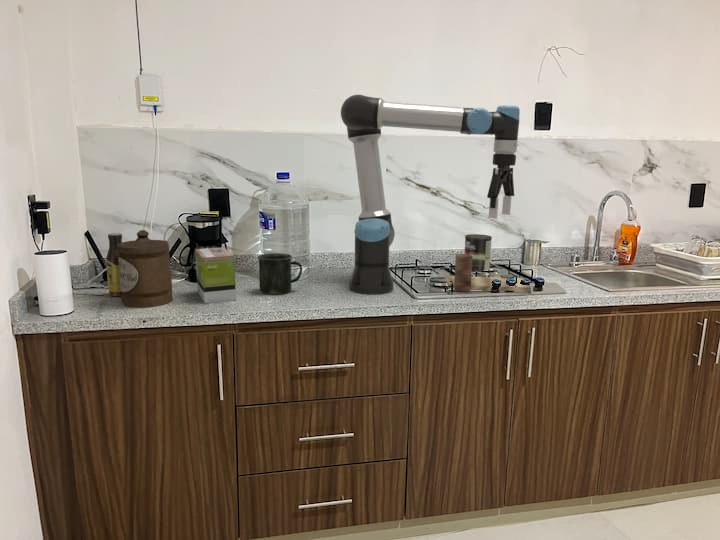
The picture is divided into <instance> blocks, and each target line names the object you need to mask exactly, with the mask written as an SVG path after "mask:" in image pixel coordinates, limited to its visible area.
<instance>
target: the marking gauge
mask: <svg viewBox="0 0 720 540" xmlns="http://www.w3.org/2000/svg"><path fill="white" fill-rule="evenodd" d="M471 272H472V255H471V254H464V253H455V262H454V276H455V279H454V282H455V291H454V292H471V291H470V290H471V277H472V273H471Z"/></svg>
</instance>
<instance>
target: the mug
mask: <svg viewBox="0 0 720 540" xmlns="http://www.w3.org/2000/svg"><path fill="white" fill-rule="evenodd" d="M292 257H293V256H292V255H291V254H289V253H281V252H280V253H279V252H276V253H264V254H259V255H257V260H258V274H259V275H258V277H259V279H258V280H259V282H258V283H259V291H260V293H261V294H265V295H271V296H272V295H286V294H288V293H290V292H291V290H292V284H293V283H296V282H298V281H299V280H300V279H301V276H302V273H303V267H302V264H301V263H300V262H298V261H291V260H292ZM292 265H295V266H298V267H299V272H298V275H297V277H295V278H294V279H292Z"/></svg>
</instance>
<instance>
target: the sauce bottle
mask: <svg viewBox="0 0 720 540" xmlns="http://www.w3.org/2000/svg"><path fill="white" fill-rule="evenodd" d="M107 239H108V243H109V244H108V246H109V247H108V251H107V254H106V258H105V265H106V277H107V288H108V289H107V290H108V293H109V294H108V295H110V296H111V297H121V288H120V274H119V257H118V256H119V255H118V249H117V245H118V244H119V243H122V242H123V234H122V233H120V232H111V233H108V234H107Z"/></svg>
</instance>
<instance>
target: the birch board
mask: <svg viewBox="0 0 720 540" xmlns="http://www.w3.org/2000/svg"><path fill="white" fill-rule="evenodd" d="M507 278H508V277H497V276H494V277H493V276H491V277H490V276H489V277H488V276H471V290H482V291H490V290H491V288H492V287H493V286H492V281H493V280H494V279H498V280H501V281H502V284H501V286H500V291H502V292H501V293H506V292H505V291H515V292H530V293H529V294H532V287H531V285H530V284H529V285H522V284H520V282H521V280H525V279H524V277H516V278H517V283H516V284H515V285H514V286H509V285H507V284H506V279H507ZM445 279H446V281H447V285H448V286H451V283H450V281H452V282H453V288H454V290H455V282H454V279H455V275H444V280H445ZM503 291H504V292H503Z"/></svg>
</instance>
